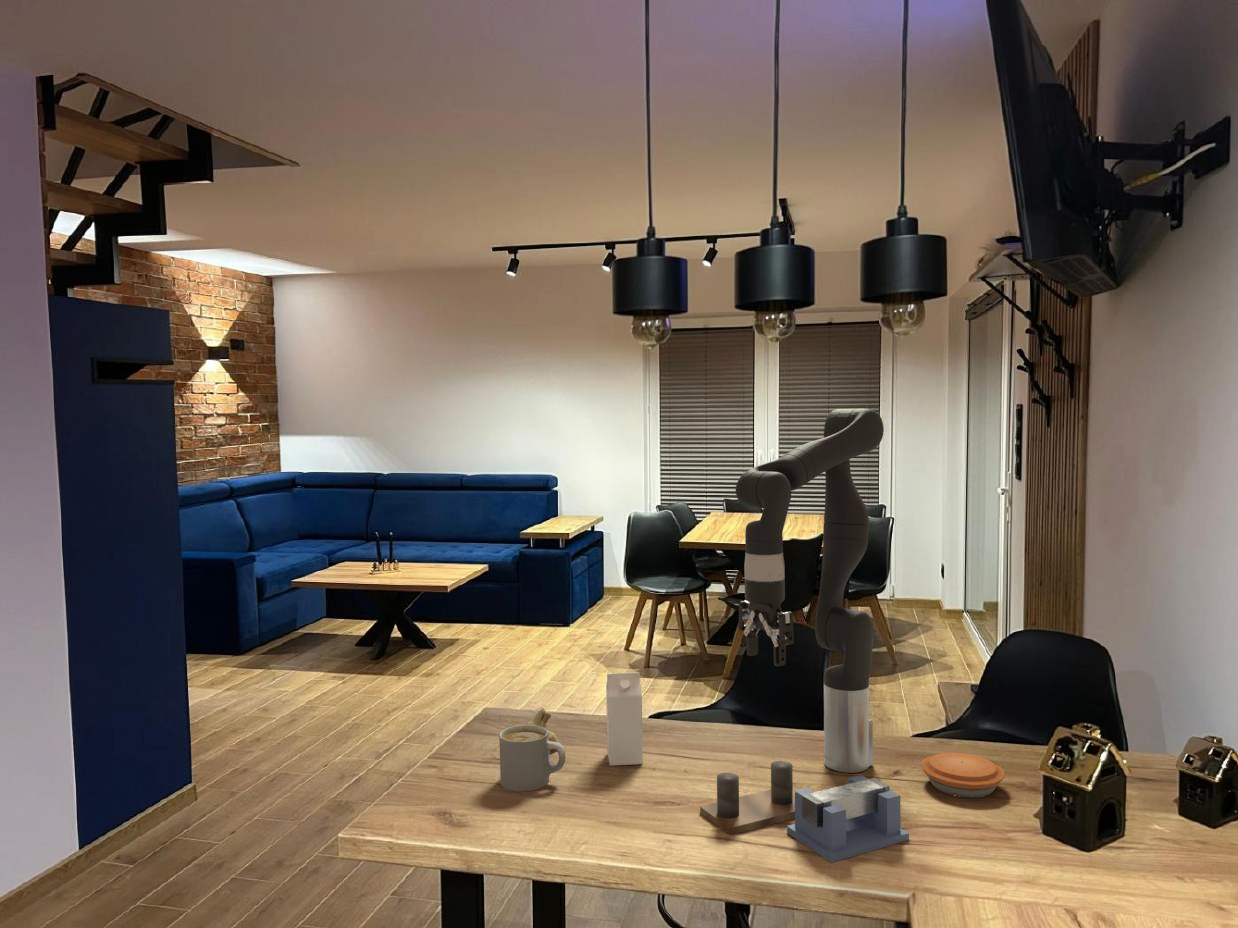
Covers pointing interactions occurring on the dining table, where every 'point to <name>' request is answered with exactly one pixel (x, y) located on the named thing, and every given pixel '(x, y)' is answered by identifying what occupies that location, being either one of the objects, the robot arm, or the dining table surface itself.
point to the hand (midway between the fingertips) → (765, 660)
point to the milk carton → (624, 718)
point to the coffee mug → (527, 757)
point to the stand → (752, 802)
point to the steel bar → (844, 800)
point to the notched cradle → (850, 827)
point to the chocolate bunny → (544, 724)
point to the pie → (962, 774)
